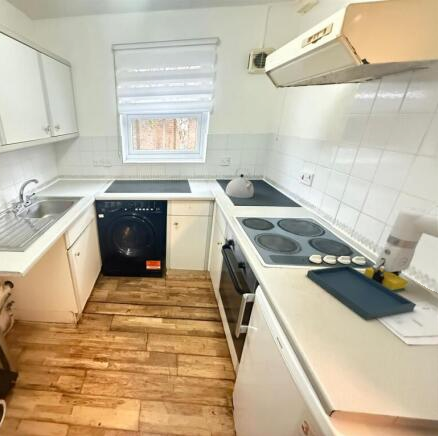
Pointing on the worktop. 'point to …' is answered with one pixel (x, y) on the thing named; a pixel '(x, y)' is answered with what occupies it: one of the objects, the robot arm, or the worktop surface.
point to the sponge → (389, 280)
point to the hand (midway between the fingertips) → (383, 281)
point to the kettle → (240, 187)
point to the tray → (360, 292)
